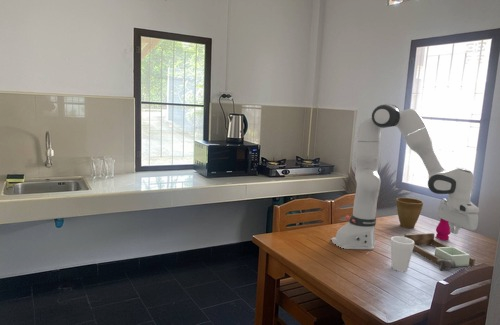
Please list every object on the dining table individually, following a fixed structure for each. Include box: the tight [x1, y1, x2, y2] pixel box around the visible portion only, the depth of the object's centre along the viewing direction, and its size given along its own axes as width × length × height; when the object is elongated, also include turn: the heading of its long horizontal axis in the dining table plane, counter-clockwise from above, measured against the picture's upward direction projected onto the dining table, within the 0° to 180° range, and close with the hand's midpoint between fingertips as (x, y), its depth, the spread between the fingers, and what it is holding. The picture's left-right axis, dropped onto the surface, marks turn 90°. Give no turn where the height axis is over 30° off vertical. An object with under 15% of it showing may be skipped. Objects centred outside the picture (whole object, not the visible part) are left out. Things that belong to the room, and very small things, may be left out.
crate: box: [434, 246, 471, 268], centre depth 173 cm, size 10×10×5 cm
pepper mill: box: [435, 218, 452, 241], centre depth 205 cm, size 7×7×20 cm
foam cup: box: [390, 236, 415, 273], centre depth 163 cm, size 10×9×13 cm
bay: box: [403, 232, 476, 271], centre depth 179 cm, size 22×31×6 cm
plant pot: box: [396, 197, 424, 229], centre depth 225 cm, size 15×15×16 cm
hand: (453, 233), depth 171 cm, fingers closed
